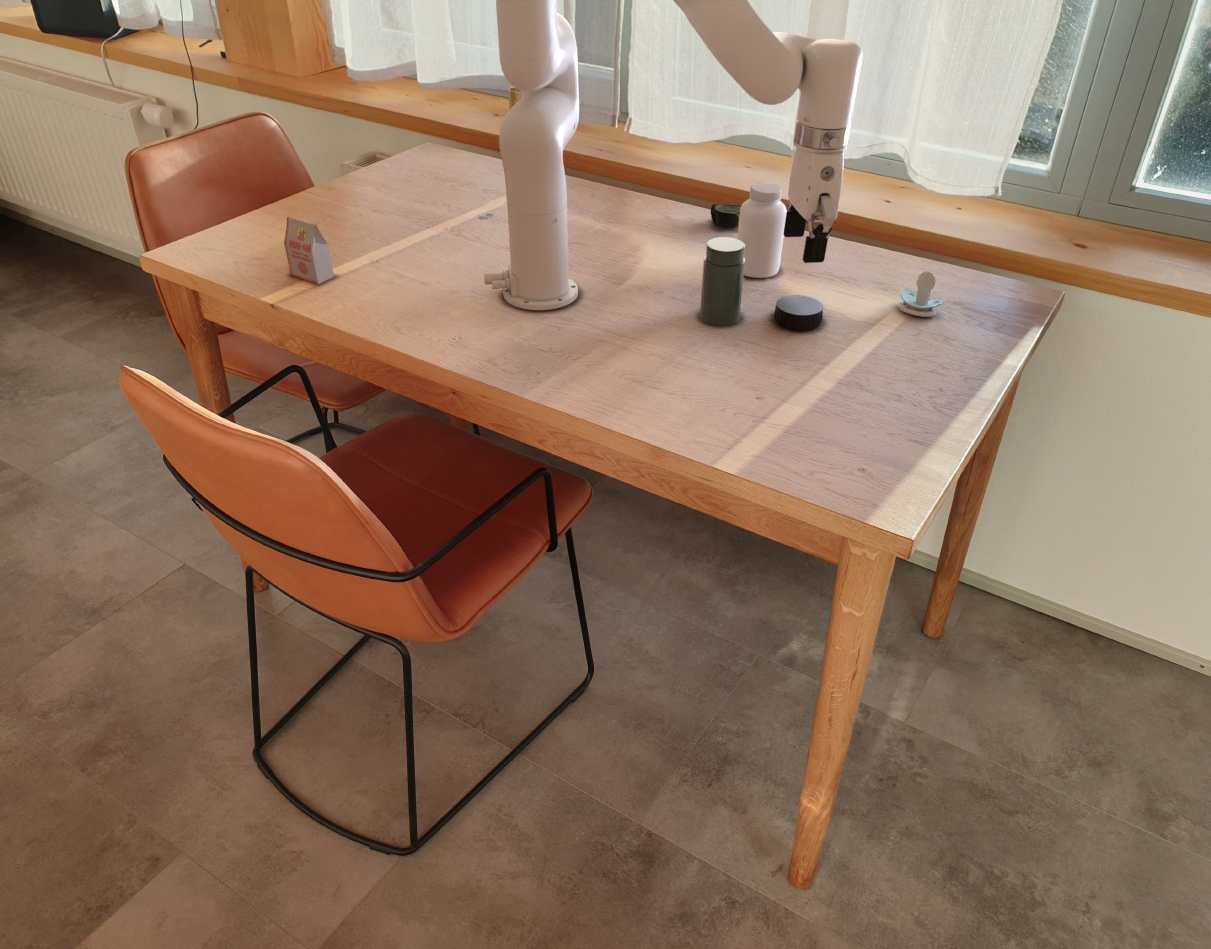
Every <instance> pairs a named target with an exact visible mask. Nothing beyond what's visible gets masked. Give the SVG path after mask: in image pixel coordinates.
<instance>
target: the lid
mask: <svg viewBox="0 0 1211 949" xmlns="http://www.w3.org/2000/svg"><path fill="white" fill-rule="evenodd" d="M823 313H824V305H823V303H822V302H821V301H820V300H818V299H817V298H815V297H812V296H808V295H802V294H791V295H790V294H789V295H785V296H781V297H780V298H778V299H777V301H776V304H775V308H774V314H773V318H774V323H775V324H776V325H777V326H779V327H781V328H782V329H786V330H789V331H794V332H809V331H813V330H816V329H817V328H819V327H820V326H821V323H822V322H823V321H822V320H823V315H824V314H823Z"/></svg>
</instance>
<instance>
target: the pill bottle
mask: <svg viewBox="0 0 1211 949" xmlns="http://www.w3.org/2000/svg"><path fill="white" fill-rule="evenodd" d="M782 193H783V188H782V186H781V185H779V184H777V183H774V182H767V181H760V182H754V183H752V184H751V185H750V187H749V196H748V197H749V198H748V199H746V200H744V201H743V203H742V204H741V205H742V206H741V209H740V217H739V227H738V228H737V237H736V239H738V240H740V241H742V242H743V243H744V244H745V249H744V256H743V257H744V258H745V266H744V276H745V277H748V278H755V279H765V278H771V277H774V276H775V275H777V274H778V272H779V270H780V266H781V259H782V251H783V245H784V244H783V243H784V237H785V236H784V235H783V233H784V226H785V219H786V213H787V211H788V210H787V206H786V205H785V204H784V203H783V201H781V199H782Z"/></svg>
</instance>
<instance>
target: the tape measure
mask: <svg viewBox="0 0 1211 949" xmlns="http://www.w3.org/2000/svg"><path fill="white" fill-rule="evenodd" d="M741 206H742V204H738V203H737V204H735V203H713V204H711V207H710V217H711V221H712V224H713V225H714V226H716V227H717V228H721V229H726V230H735V229H738V227H739V217H740V209H741Z"/></svg>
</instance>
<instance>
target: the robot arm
mask: <svg viewBox="0 0 1211 949" xmlns="http://www.w3.org/2000/svg"><path fill="white" fill-rule="evenodd" d="M672 1H673V2H674V3H675V4H676V5H677V7H678V8H679V9H680V10H681V11H682V13H683V14H684V15H685V17H686V19H687V21H688V22H689V23H690V25H691V27H692V28H693V29H694V31H695V32H696V34H697V35H698V36H699V37H700V39H701V41H702V42H703V43H704V45H705V46H706V48H707V49H708V50H709V52H710V53H711V54H712V56H713V57H714V58H715V59H716V61H717V62H718V63H719V64H720V66H722V68H723V69H724V71H726V73H728V75H730V77H731V78H732V79H733V80H734V81H735V82H736V83H737V85H739V87H740V88H741V89H742V90H744V92H745V93H746V94H747V95H748V96H749V97H751V98H752V99H754V100H755V101H756V102H758V103H761V104H763V105H768V106H774V105H780V104H782V103H784V102H786V101H788V100H789V99H791V97H793V96H794V94H795V93H796V92H797V90H799V91H800V93H799V100H798V101H799V102H798V108H797V115H796V122H795V130H794V135H793V136H794V137H793V142H792V143H793V146H794V147H795V150H794V151H795V152H794V155H793V159H792V164H791V171H790V176H789V183H788V190H787V191H788V193H787V196H788V201H787V204H786V210H787V213H786V219H785V226H784V233H783V235H784V237H785V238H802V237H804V236H805V231H806V225H807V226H808V235H806V237H805V241H804V242H805V243H804V248H803V254H802V261H803V263H804V264H812V263H813V264H815V263H824V262H825V259H826V253H827V247H828V242H829V238H830V236H831V232H832V230H833V224H834V222H835V220H837V218H838V215H839V209H840V202H841V194H842V186H843V179H844V178H843V177H844V161H845V160H844V159H845V158H844V156H845V153H844V151H845V150H846V149H847V146H848V140H849V135H850V129H851V124H852V118H853V112H854V108H855V107H854V106H855V100H856V95H857V90H858V84H859V79H860V78H859V77H860V74H861V73H860V72H861V69H862V68H861V67H862V63H863V62H862V61H863V51H862V48H861V47H860V45H859V44H858V43H855V42H854V41H852V40H851V41H850V40H846V39H840V38H822V39H816V38H812V37H807V36H802V35H799V34H796V33H790V32H786V31H775V32H773V31H772V30H771V29H770V28H769V27H768V26H767V25H766V24H765V22H764V21H763V20H762V18H761V17H760V15H759V14H758V13H757V11H755V9H754V7H753V6H752V4H751V3H750V2H749V0H672ZM495 9H496V10H495V11H496V23H497V24H496V25H497V37H498V55H499V63H500V68H501V72H502V73H503V75H504V78H505V79H506V81H507V82H508V83H509V84H510V85H511V86H512V87H514V88H515V89H517V90H519V91H520V99H519V100H518V101H517V102H516V103H515V104H514V105H513V106H511V107H510V109H509V110H508V111H507V113H506V114H505V116H504V118H503V119H502V122H501V125H500V128H499V133H498V144H499V153H500V157H501V162H502V163H501V164H502V167H503V173H504V174H503V175H504V181H505V194H506V195H505V196H506V207H507V208H506V209H507V222H508V240H509V241H508V242H509V257H510V264H508V265H507V266H508V269H505V270H502V272H483V278H484V285H485V286H489V285H491V286H492V290H501V289H502V294H503V299H504V300H505V301H506V302H507V303H508V304H509V305H511V306H513V307H516V308H518V309H523V310H528V311H549V310H550V311H551V310H556V309H561V308H562V307H566V306H568V305H570V304H572V303H573V302H574V301H575V300H576V299H577V298H578V296H579V287H578V284H577V283H576V282H575V281H574V280H573V279H571V278H570V277H569V243H568V242H569V233H568V232H569V230H568V197H567V196H568V194H567V193H568V191H567V178H566V172H565V166H564V156H563V155H564V149H565V147H566V146H567V144H568V143H569V142H570V140H572V138H573V136H574V135H575V133H576V131H577V129H578V125H579V120H580V90H579V89H580V86H579V58H578V56H579V54H578V45H577V39H576V35H575V32H574V31H573V27H572V26H571V24H570V23H569V22H568V20H567V19H566V18H565V17H564V16H563V15H562V14H561V13H559V12H557V10H558V9H557V0H495ZM820 214H821V215H820ZM806 223H807V224H806ZM815 223H819V224H818V225H817V226H815V225H816V224H815Z"/></svg>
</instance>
